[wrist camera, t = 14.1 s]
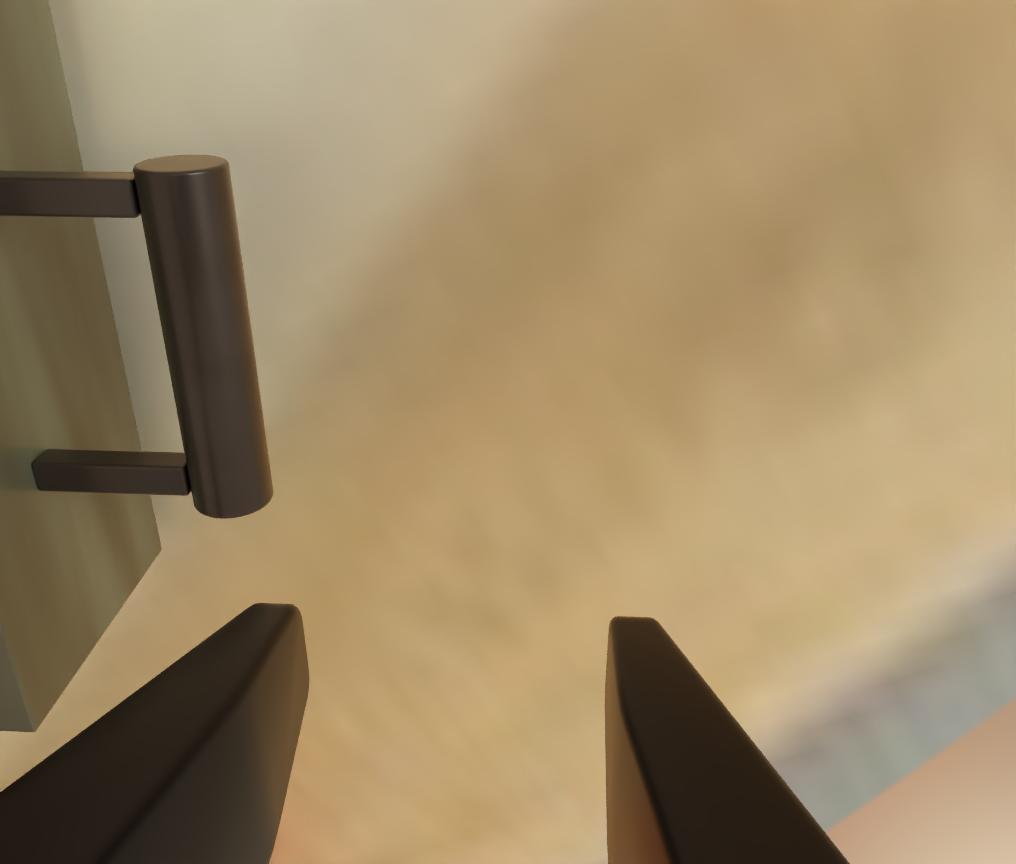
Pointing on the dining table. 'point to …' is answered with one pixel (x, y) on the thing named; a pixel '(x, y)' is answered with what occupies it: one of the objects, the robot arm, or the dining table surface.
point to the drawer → (102, 373)
